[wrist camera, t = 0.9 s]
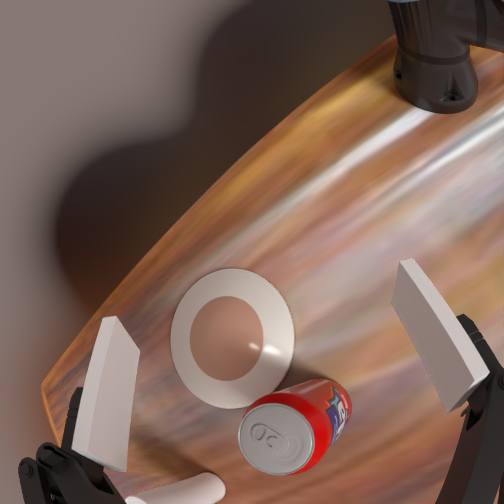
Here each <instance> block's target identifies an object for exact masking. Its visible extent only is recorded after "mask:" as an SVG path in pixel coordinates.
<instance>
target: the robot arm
mask: <svg viewBox="0 0 504 504" xmlns="http://www.w3.org/2000/svg"><path fill="white" fill-rule="evenodd" d="M388 3H389V7H390V10H391V14H392V18H393V22H394V26H395V31H396V36H397V40H398V49H397V54H396V58H395V63H394V67H393V74H394V79H395V84H396V87H397V89H398V91H399V92H400V93H401V95H402V96H403V97H404V98H405V99H407V100H408V101H409V102H411V103H412V104H414V105H416V106H418V107H420V108H422V109H425V110H428V111H432V112H437V113H457V112H461V111H464V110H466V109H468V108H469V107H471V106H472V105H473V104H474V102H475V101H476V98H477V92H478V80H477V76H476V72H475V69H474V66H473V63H472V60H471V57H470V45H472V46H477V47H482V48H487V49H491V50H495V51H498V52H502V53H504V0H388ZM391 304H392V306H393V307H394V309H395V311H396V313H397V314H398V316H399V318H400V320H401V322H402V323H403V325H404V327H405V329H406V331H407V332H408V334H409V336H410V338H411V340H412V342H413V344H414V346H415V347H416V349H417V351H418V353H419V355H420V357H421V359H422V361H423V363H424V365H425V367H426V369H427V371H428V373H429V375H430V377H431V379H432V381H433V383H434V385H435V388H436V390H437V392H438V394H439V396H440V398H441V400H442V403H443V405H444V407H445V409H446V412H447V413H449V412H451V411H453V410H455V409H457V408H459V407H461V406H462V405H463V404H464V403H465V402H466V400H467V401H468V403H469V405H468V406H467V407H466V408H465V410H464V411H463V412H462V414H461V417H463V416H464V415H465V414H466V416H465V420H464V424H463V428H462V431H461V435H460V438H459V442H458V445H457V448H456V451H455V454H454V457H453V460H452V463H451V466H450V469H449V471H448V474H447V477H446V479H445V482H444V484H443V487H442V489H441V491H440V494H439V496H438V498H437V501H436V503H435V504H493V502H494V499H495V497H496V494H497V491H498V487H499V484H500V490H499V498H498V504H504V368H503V367H502V366H501V365H500V363H499V362H498V360H497V358H496V357H495V355H494V353H493V352H492V350H491V349H490V347H489V345H488V344H487V342H486V341H485V339H483V336H482V334H481V333H480V332H479V330H478V328H477V327H476V325H475V324H474V322H473V321H472V320H471V319H469V318H468V317H467V316H466V315H464V314H462V315H459V316H457V317H456V316H455V315H454V313H453V312H452V311H451V309H450V308H449V306H448V305H447V303H446V302H445V300H444V299H443V298H442V296H441V295H440V293H439V292H438V291H437V289H436V288H435V286H434V285H433V284H432V282H431V281H430V280H429V278H428V277H427V276H426V274H425V273H424V272H423V270H422V269H421V268H420V267H419V265H418V264H417V263H416V261H415V260H414V259H413V258H411V259H407V260H403V261H399V266H398V272H397V277H396V283H395V288H394V293H393V297H392V302H391ZM139 356H140V350H139V349H138V347H137V346H136V344H135V343H134V342H133V340H132V339H131V337H130V336H129V334H128V333H127V331H126V330H125V328H124V327H123V325H122V324H121V322H120V321H119V319H118V318H117V316H112V317H105V318H103V320H102V323H101V326H100V329H99V333H98V336H97V339H96V343H95V346H94V350H93V353H92V357H91V361H90V364H89V368H88V372H87V376H86V380H85V384H84V387H77V389H76V390H75V392H74V393H73V395H72V397H71V401H70V405H69V410H68V414H67V416H68V418H67V419H66V424H65V429H64V434H63V439H62V445H61V448H59V447H57V446H56V445H54V444H52V443H49V442H46V443H44V444H42V445H41V446H40V447H39V448H38V451H37V453H36V461H35V460H33V459H31V458H29V457H27V458H24V459H22V460H21V462H20V464H19V467H18V473H19V478H20V484H21V488H22V493H23V498H24V502H25V504H127V503H126V502H125V501H124V499H123V498H122V496H121V495H120V494H119V492H118V491H117V489H116V488H115V487H114V485H113V484H112V482H111V481H110V479H109V478H108V476H107V475H106V474H105V473H104V472H103V469H104V467H105V468H107V469H109V470H112V471H121V472H126V468H127V454H128V442H129V431H130V422H131V413H132V404H133V397H134V389H135V382H136V375H137V369H138V362H139ZM500 481H501V482H500ZM51 495H52V498H51Z"/></svg>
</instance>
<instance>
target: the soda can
mask: <svg viewBox="0 0 504 504" xmlns="http://www.w3.org/2000/svg"><path fill="white" fill-rule="evenodd" d="M351 412H352V404H351V399H350V397H349V395H348V393H347V391H346V390H345V389H344V388H343V387H342V386H341V385H340V384H338V383H337V382H335V381H332V380H329V379H312V380H309V381H306V382H303V383H300V384H298V385H295V386H292V387H289V388H286V389H283V390H280V391H276V392H273V393H270V394H267V395H265V396H263V397H261V398H259V399H258V400H256V401H255V402H254V403H253V404H251V405H250V407H249V408H248V409H247V411H246V412H245V414H244V416H243V419H242V421H241V423H240V426H239V430H238V442H239V446H240V449H241V451H242V453H243V455H244V457H245V458H246V459H247V461H248V462H249V463H250V464H251V465H252V466H254V467H255V468H257V469H258V470H260V471H262V472H264V473H267V474H271V475H294V474H299V473H302V472H304V471H306V470H308V469H310V468H312V467H313V466H314V465H316V464H317V463H318V462H319V461H320V459H321V458H322V457H323V456H324V455H325V453H326V452H327V451H328V449H329V448H330V447H331V446H332V444H333V443H334V442H335V440H336V439H337V438H338V436H339V435H340V434H341V432H342V431H343V429H344V428H345V427H346V425H347V423H348V422H349V419H350V417H351Z"/></svg>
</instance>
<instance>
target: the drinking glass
mask: <svg viewBox="0 0 504 504" xmlns="http://www.w3.org/2000/svg"><path fill="white" fill-rule="evenodd" d="M225 492H226V489H225V485H224V483H223V481H222V480H221V479H220V478H219V477H218V476H216V475H214V474H212V473H207V472H205V473H201V474H198V475H196V476H194V477H191V478H187V479H184V480H181V481H177V482H173V483H170V484H166V485H162V486H158V487H154V488H151V489H147V490H144V491H141V492H139V493H136V494H133V495H131V496H128V497H127V498H126V499H125V502H126V503H127V504H214V503H216V502H218V501H219V500H221V499H222V498H223V497H224V495H225Z"/></svg>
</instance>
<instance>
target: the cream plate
mask: <svg viewBox="0 0 504 504" xmlns="http://www.w3.org/2000/svg"><path fill="white" fill-rule="evenodd" d="M170 339H171V353H172V358H173V362H174V365H175V368H176V370H177V372H178V374H179V376H180V378H181V380H182V381H183V383H184V384H185V385H186V387H187V388H188V389H189V390H190V391H191V392H192V393H193V394H194V395H195V396H196V397H198V398H199V399H201V400H202V401H204V402H206V403H208V404H210V405H213V406H216V407H220V408H229V409H234V408H242V407H246V406H249V405H251V404H253V403H254V402H255V401H256V400H258V399H259V398H261V397H263V396H265V395H267V394H270V393H272V392H273V391H274V390H275V389H276V388H277V387H278V386H279V385H280V384H281V382H282V381H283V379H284V378H285V376H286V374H287V372H288V370H289V368H290V365H291V362H292V359H293V355H294V350H295V326H294V321H293V317H292V314H291V311H290V308H289V306H288V304H287V302H286V300H285V299H284V297H283V296H282V294H281V293H280V292H279V291H278V290H277V288H276V287H275V286H274V285H273V284H271V283H270V282H269V281H268V280H266V279H264V278H263V277H261V276H259V275H257V274H255V273H253V272H250V271H247V270H243V269H223V270H218V271H215V272H213V273H210V274H208V275H206V276H204V277H203V278H201V279H200V280H199V281H197V282H196V283H195V284H194V285H193V286H192V287H191V288H190V289H189V290H188V291H187V292H186V294H185V295H184V297H183V298H182V300H181V302H180V303H179V305H178V307H177V310H176V312H175V315H174V319H173V322H172V328H171V337H170Z"/></svg>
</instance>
